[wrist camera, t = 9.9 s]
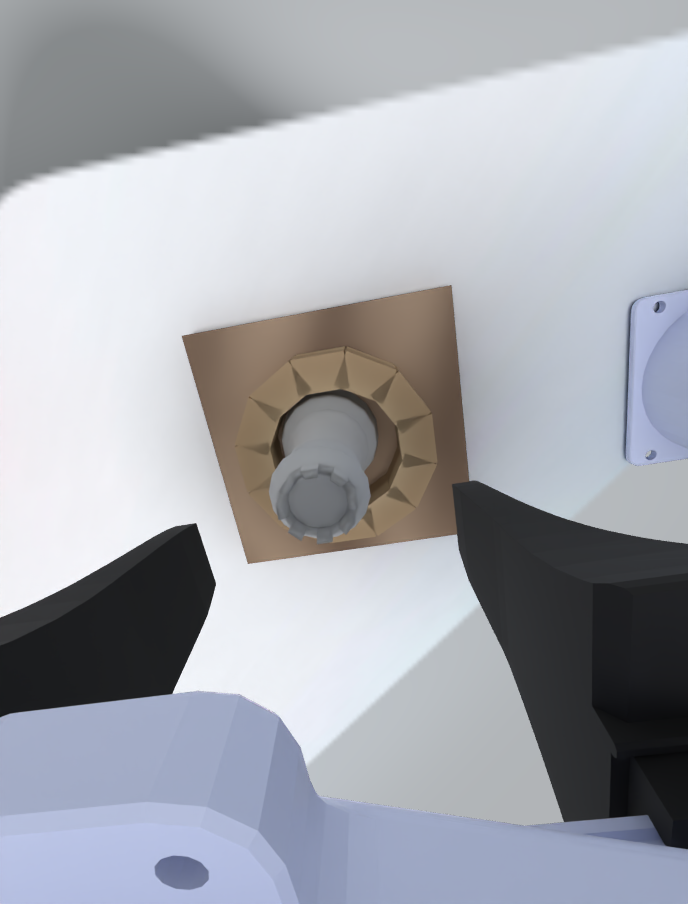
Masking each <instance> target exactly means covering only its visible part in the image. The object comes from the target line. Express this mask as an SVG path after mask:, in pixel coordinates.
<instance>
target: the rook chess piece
mask: <svg viewBox="0 0 688 904" xmlns="http://www.w3.org/2000/svg"><path fill="white" fill-rule="evenodd" d="M378 437H379V436H378V429H377V423H376V418H375V417H374V415H373V413H372V412H371V410H370V409H369V407H368V405H367V404H366V403H365V402H364V401H362V400H361V399H360V398H358V397H357V396H355V395H354V394H353V393H351V392H349V391H344V390H340V389H338V390H332V391H326V392H320V393H315V394H309V395H306V396H304V397H303V398H302V399H301V400H300V401H299V402H297V403H296V404H295V405H294V406H293V407H292V408H291V410H290V411H289V413H288V414H287V416H286V420H285V422H284V428H283V433H282V438H281V440H282V444H283V449H284V453H285V458H284V459H283V460H282V461H281V462H280V464H279V465H278V467H277V468H276V469H275V471H274V472H273V474H272V477H271V483H270V488H269V495H270V499H271V503H272V507H273V510H274V512H275V513H276V514H277V516H278V520H281V521H282V522H283V524H284V525H285V526H287V527H289V531H288V533H289V534H291V535H292V536H294V537H296V538H297V539H299V540H300V541H302V539H303V536H308V537H313V538H317V544H323V543H330V542H333V537H337V536H340V535H341V534H343V533H344V534H347V533H348V532H349V531H350V530H351V529H352V528H354V527H355V526H356V525H357V524H358V522H359V521H360V520H361V519H362V518H363V516H364V515H365V514H366V511H367V508H368V504H369V500H370V497H371V495H370V489H369V483H368V477H367V476H366V474H365V473H364V471H365V470H366V469H367V467H368V466H369V465H370V464H371V462H372V461H373V460H374V456H375V452H376V448H377V444H378Z"/></svg>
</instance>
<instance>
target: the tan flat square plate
mask: <svg viewBox="0 0 688 904" xmlns="http://www.w3.org/2000/svg"><path fill="white" fill-rule="evenodd" d="M182 338H183V342H184V345H185V349H186V352H187V356H188V359H189V363H190V366H191V369H192V373H193V376H194V380H195V383H196V387H197V390H198V394H199V397H200V400H201V404H202V407H203V411H204V414H205V418H206V421H207V424H208V428H209V431H210V435H211V438H212V442H213V445H214V449H215V452H216V455H217V459H218V462H219V466H220V469H221V473H222V476H223V480H224V483H225V486H226V490H227V493H228V497H229V500H230V504H231V507H232V510H233V514H234V517H235V521H236V524H237V528H238V531H239V535H240V538H241V541H242V545H243V548H244V552H245V555H246V559H247V562H248V564H250V563H257V562H265V561H272V560H279V559H286V558H293V557H300V556H307V555H314V554H321V553H328V552H335V551H342V550H349V549H356V548H363V547H370V546H377V545H384V544H392V543H399V542H406V541H413V540H420V539H427V538H434V537H441V536H448V535H455V534H457V527H456V517H455V508H454V499H453V489H452V484H456V483H463V482H469V474H468V463H467V452H466V441H465V430H464V419H463V408H462V397H461V386H460V375H459V364H458V353H457V342H456V331H455V320H454V309H453V298H452V287H451V285H450V286H445V287H439V288H434V289H429V290H423V291H418V292H413V293H408V294H402V295H397V296H392V297H386V298H381V299H376V300H370V301H365V302H360V303H354V304H349V305H344V306H339V307H333V308H328V309H323V310H317V311H312V312H307V313H301V314H296V315H291V316H285V317H280V318H275V319H270V320H264V321H259V322H254V323H248V324H243V325H238V326H232V327H227V328H222V329H216V330H211V331H206V332H201V333H195V334H190V335H185V336H182ZM338 389H340V390H344V391H349V392H351V393H353V394H354V395H355V396H357V397H358V398H360V399H361V400H362V401H364V402H365V403H366V404H367V405H368V407H369V409H370V410H371V412H372V413H373V415H374V417H375V418H376V423H377V429H378V436H379V437H378V444H377V448H376V452H375V456H374V460H373V461H372V462H371V464H370V465H369V466H368V467H367V469H366V470H365V471H364V473H365V474H366V476H367V477H368V483H369V489H370V495H371V497H370V500H369V504H368V508H367V511H366V514H365V515H364V516H363V518H362V519H361V520H360V521H359V522H358V524H357V525H356V526H355V527H354V528H352V529H351V530H350V531H349V532H348V533H347V534H344V533H343V534H341V535H340V536H337V537H333V542H330V543H323V544H317V538H313V537H308V536H303V539H302V541H300V540H299V539H297V538H296V537H294V536H292V535H291V534H289V533H288V531H289V527H287V526H285V525H284V524H283V522H282V521H281V520H278V516H277V514H276V513H275V512H274V510H273V507H272V503H271V499H270V495H269V488H270V483H271V477H272V474H273V472H274V471H275V469H276V468H277V467H278V465H279V464H280V462H281V461H282V460H283V459H284V458H285V453H284V449H283V444H282V440H281V438H282V433H283V428H284V422H285V420H286V416H287V414H288V413H289V411H290V410H291V408H292V407H293V406H294V405H295V404H296V403H297V402H299V401H300V400H301V399H302V398H303V397H304V396H306V395H309V394H315V393H320V392H326V391H332V390H338Z"/></svg>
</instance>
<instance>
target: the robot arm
mask: <svg viewBox="0 0 688 904" xmlns="http://www.w3.org/2000/svg"><path fill="white" fill-rule="evenodd" d="M656 302H659V304H660V307H659V310H658V311H657V312H654V310H653V307H654V305H655V303H656ZM650 450H651V454H650V455H649V457H646V453H647V452H648V451H650ZM687 458H688V290H682V291H676V292H671V293H665V294H660V295H654V296H649V297H643V298H640V299H638V300H637V301H636V302H635V303H634V304H633V306H632V309H631V327H630V355H629V382H628V409H627V436H626V459H627V461H628V462H629V463H631V464H633V465H635V466H641V465H648V464H655V463H661V462H668V461H674V460H681V459H687ZM452 489H453V499H454V508H455V517H456V527H457V536H458V545H459V551H460V555H461V558H462V561H463V564H464V567H465V570H466V573H467V576H468V579H469V581H470V583H471V586H472V588H473V590H474V592H475V594H476V596H477V598H478V600H479V602H480V604H481V606H482V608H483V610H484V612H485V614H486V616H487V619H488V620H489V623H490V625H491V627H492V629H493V630H494V633H495V635H496V637H497V639H498V641H499V643H500V645H501V647H502V649H503V651H504V653H505V656H506V658H507V660H508V663H509V665H510V668H511V670H512V673H513V676H514V679H515V681H516V684H517V687H518V690H519V692H520V695H521V698H522V700H523V703H524V706H525V709H526V712H527V714H528V717H529V720H530V723H531V725H532V729H533V732H534V734H535V737H536V740H537V743H538V746H539V749H540V751H541V754H542V757H543V760H544V763H545V766H546V769H547V772H548V775H549V778H550V781H551V784H552V787H553V790H554V793H555V796H556V799H557V802H558V805H559V808H560V811H561V814H562V817H563V820H564V822H561V823H550V824H538V825H527V826H523V825H516V824H509V823H503V822H496V821H489V820H482V819H475V818H468V817H461V816H455V815H448V814H441V813H434V812H427V811H420V810H412V809H406V808H400V807H392V806H385V805H379V804H372V803H365V802H358V801H352V800H345V799H338V798H331V797H324V796H319V795H317V793H316V792H315V790H314V788H313V785H312V783H311V781H310V778H309V775H308V771H307V768H306V765H305V761H304V758H303V755H302V751H301V748H300V746H299V745H298V743H297V742H296V740H295V739H294V737H293V736H292V734H291V733H290V731H289V730H288V729H287V727H286V726H285V724H284V723H283V721H282V720H281V718H280V717H279V716H278V715H277V714H275V713H274V712H272V711H270V710H268V709H266V708H264V707H262V706H261V705H259V704H257V703H255V702H253V701H251V700H249V699H247V698H245V697H243V696H241V695H240V694H228V693H216V692H204V691H194V692H186V693H178V694H172V693H173V691H174V688H175V686H176V684H177V682H178V680H179V677H180V675H181V673H182V671H183V669H184V666H185V664H186V662H187V660H188V658H189V655H190V653H191V651H192V649H193V647H194V644H195V642H196V640H197V638H198V636H199V633H200V631H201V629H202V627H203V624H204V622H205V620H206V617H207V615H208V611H209V608H210V605H211V601H212V598H213V594H214V590H215V586H216V582H215V579H214V576H213V573H212V570H211V567H210V564H209V561H208V558H207V555H206V552H205V549H204V546H203V543H202V540H201V537H200V533H199V530H198V527H197V524H196V523H195V524H188V525H182V526H175V527H173V528H170V529H168V530H166V531H164V532H162V533H160V534H158V535H156V536H155V537H153V538H151V539H149V540H148V541H146V542H144V543H143V544H141V545H139V546H138V547H136V548H134V549H133V550H131V551H129V552H128V553H126V554H124V555H123V556H121V557H119V558H118V559H116V560H114V561H113V562H111V563H109V564H107V565H106V566H104V567H102V568H100V569H98V570H97V571H95V572H93V573H91V574H90V575H88V576H86V577H84V578H83V579H81V580H79V581H77V582H76V583H74V584H72V585H70V586H68V587H66V588H64V589H62V590H60V591H58V592H56V593H54V594H52V595H50V596H48V597H46V598H44V599H42V600H40V601H38V602H36V603H34V604H31V605H29V606H27V607H25V608H23V609H20V610H18V611H15V612H13V613H11V614H8V615H6V616H3V617H1V618H0V904H688V544H684V543H675V542H667V541H660V540H653V539H647V538H641V537H636V536H631V535H626V534H621V533H616V532H611V531H607V530H603V529H599V528H595V527H591V526H587V525H584V524H581V523H577V522H574V521H570V520H567V519H564V518H561V517H558V516H555V515H553V514H550V513H547V512H545V511H542V510H540V509H537V508H534V507H532V506H530V505H527V504H525V503H523V502H521V501H518V500H516V499H514V498H512V497H510V496H508V495H505V494H503V493H501V492H499V491H497V490H495V489H493V488H491V487H489V486H487V485H485V484H483V483H480V482H478V481H469V482H463V483H456V484H452Z"/></svg>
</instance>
